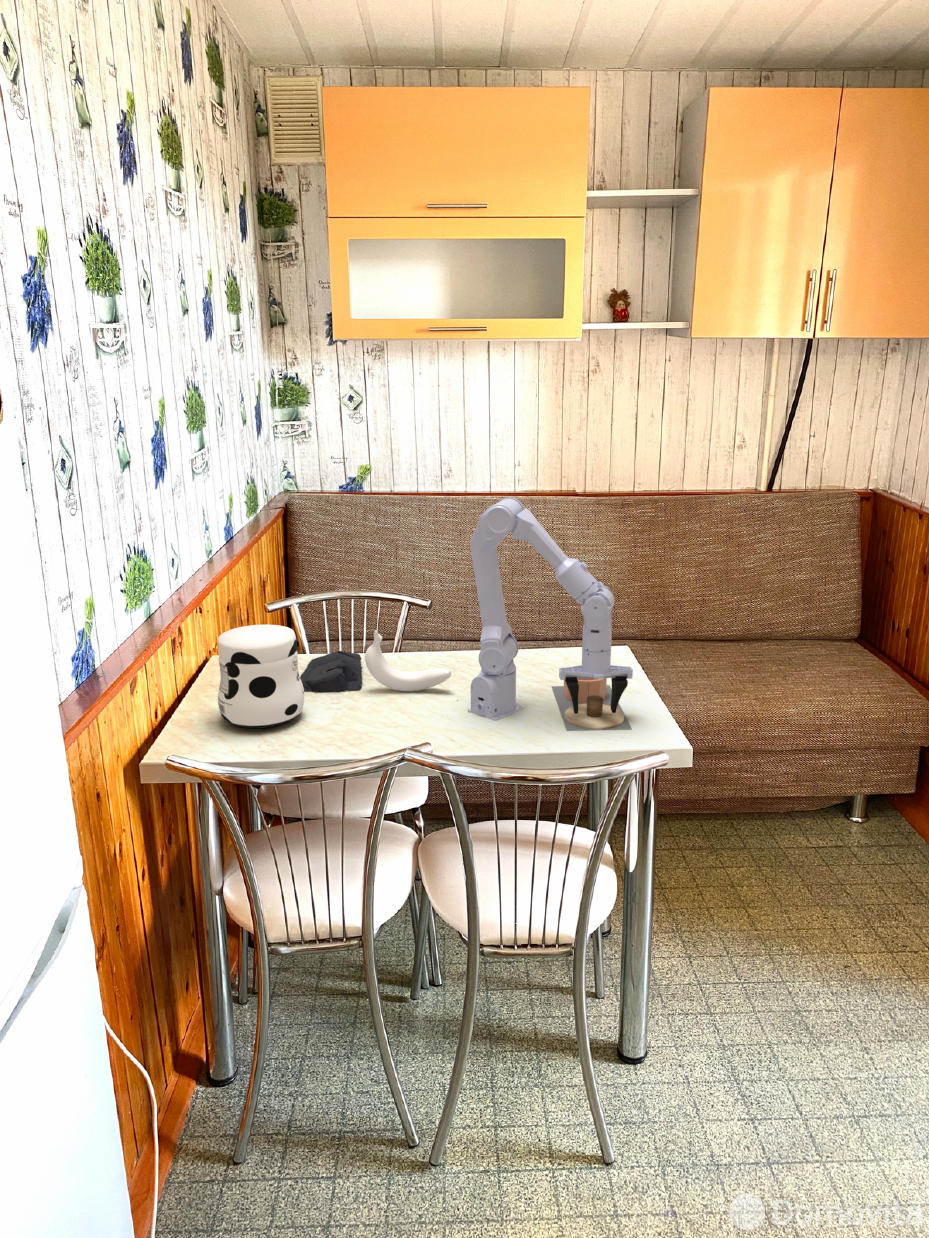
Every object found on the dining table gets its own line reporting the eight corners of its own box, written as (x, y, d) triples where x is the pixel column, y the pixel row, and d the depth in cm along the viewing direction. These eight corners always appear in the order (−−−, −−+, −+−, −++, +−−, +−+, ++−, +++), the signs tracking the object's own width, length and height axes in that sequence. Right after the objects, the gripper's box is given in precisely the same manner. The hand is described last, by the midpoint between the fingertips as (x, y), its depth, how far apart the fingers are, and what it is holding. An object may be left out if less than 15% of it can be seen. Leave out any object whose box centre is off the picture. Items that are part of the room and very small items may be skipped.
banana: (451, 694, 203) (450, 631, 199) (365, 695, 203) (362, 631, 199) (452, 687, 208) (451, 624, 204) (367, 687, 208) (364, 625, 204)
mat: (632, 731, 183) (632, 729, 183) (566, 732, 183) (566, 730, 183) (609, 686, 207) (609, 685, 207) (551, 687, 207) (551, 686, 207)
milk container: (320, 708, 196) (316, 627, 191) (277, 740, 181) (271, 652, 176) (249, 699, 202) (243, 619, 197) (202, 728, 186) (194, 643, 181)
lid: (601, 734, 181) (602, 714, 180) (552, 718, 189) (553, 698, 188) (635, 717, 189) (636, 697, 188) (587, 702, 197) (588, 683, 196)
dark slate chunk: (370, 662, 226) (369, 643, 225) (360, 694, 205) (359, 674, 204) (307, 662, 226) (306, 644, 225) (291, 695, 205) (290, 675, 204)
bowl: (589, 706, 195) (590, 684, 193) (555, 696, 201) (555, 674, 199) (614, 695, 201) (614, 673, 200) (580, 685, 207) (580, 664, 206)
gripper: (562, 654, 181) (561, 719, 185) (637, 653, 181) (634, 718, 185) (558, 643, 188) (557, 706, 191) (629, 642, 188) (626, 705, 192)
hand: (594, 711), depth 189 cm, fingers open, 7 cm apart
